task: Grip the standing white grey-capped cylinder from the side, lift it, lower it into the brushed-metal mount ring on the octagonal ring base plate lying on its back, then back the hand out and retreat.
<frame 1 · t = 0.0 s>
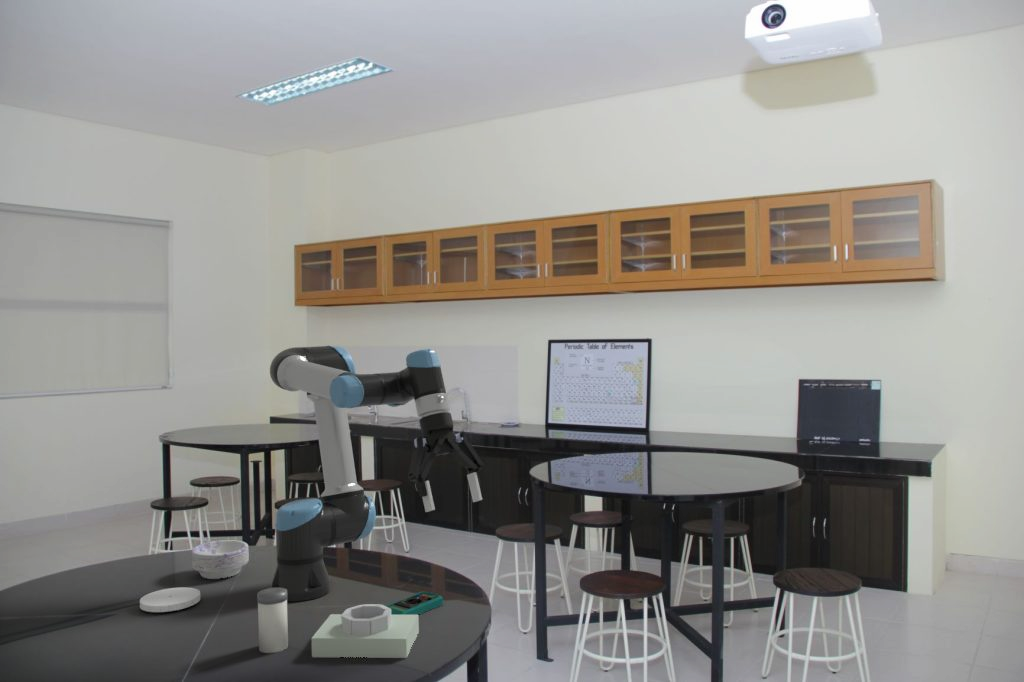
hand: (454, 506, 182), 28 cm above the table, tool tilted 20°, fingers open, 13 cm apart
white grey-capped cylinder: (273, 647, 174), on the table
octagonal ring base plate: (367, 644, 175), on the table
digital multimeter: (412, 613, 195), on the table
plastic lid: (170, 607, 202), on the table
paper bowls: (220, 575, 227), on the table
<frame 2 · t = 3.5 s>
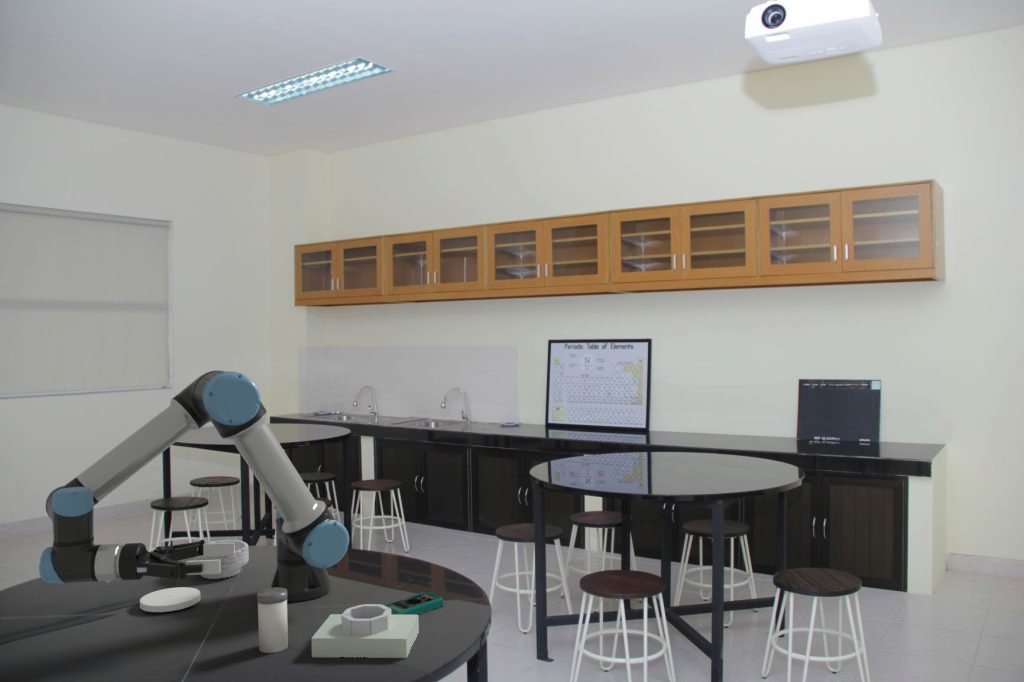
hand: (227, 557, 172), 20 cm above the table, tool horizontal, fingers open, 13 cm apart
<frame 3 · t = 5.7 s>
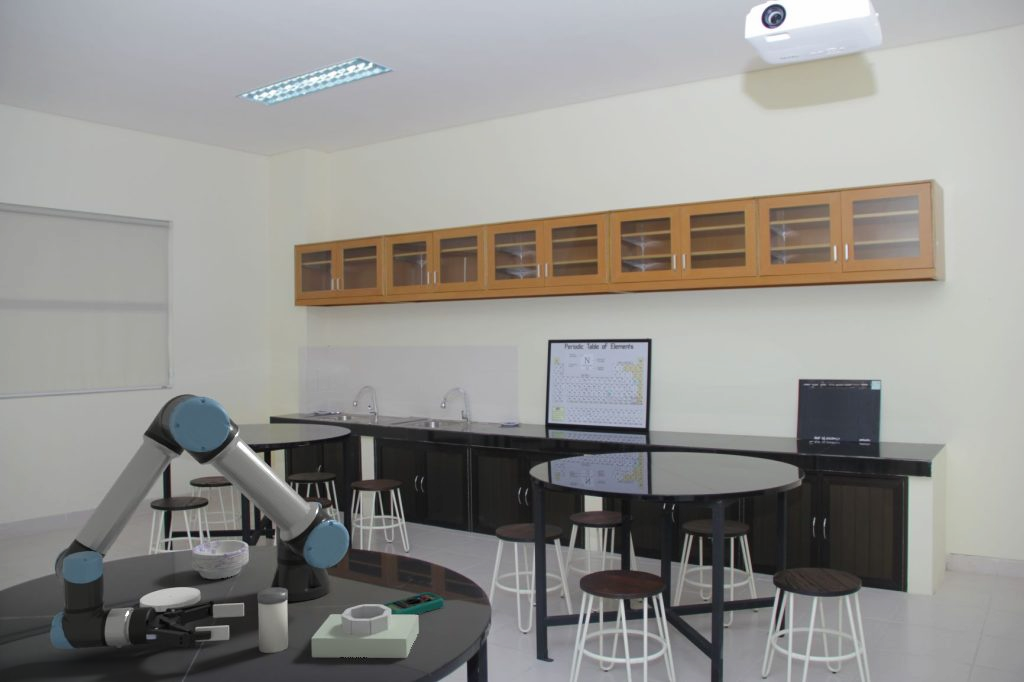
hand: (236, 620, 173), 6 cm above the table, tool horizontal, fingers open, 13 cm apart
nothing on the table moved.
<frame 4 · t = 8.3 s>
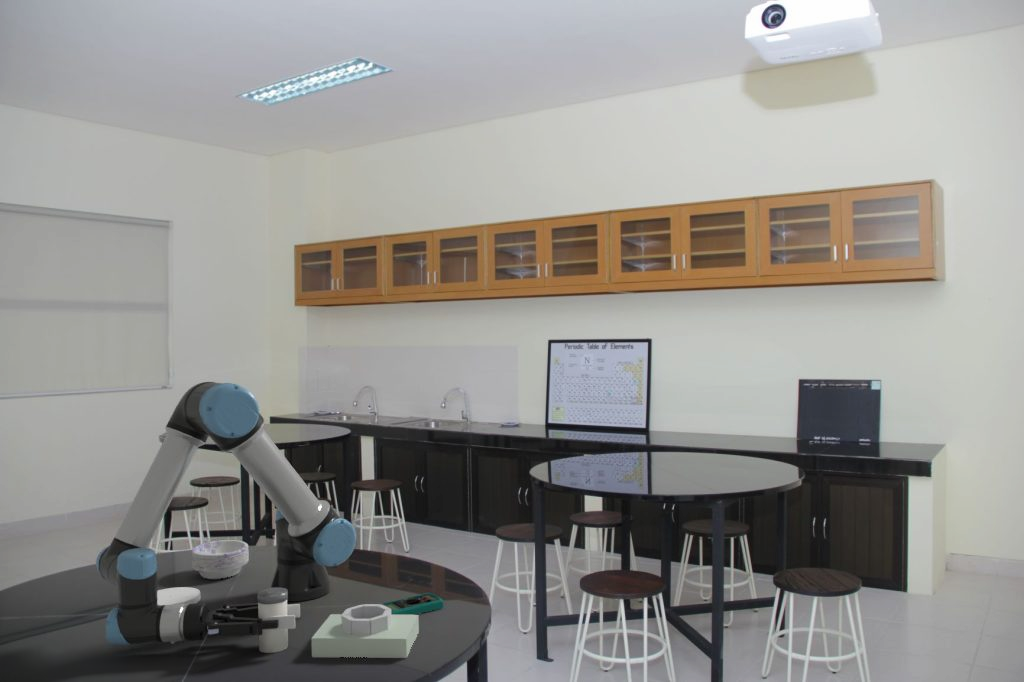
hand: (297, 616, 174), 7 cm above the table, tool horizontal, fingers closed on white grey-capped cylinder, 6 cm apart
white grey-capped cylinder: (273, 647, 174), on the table, touching gripper
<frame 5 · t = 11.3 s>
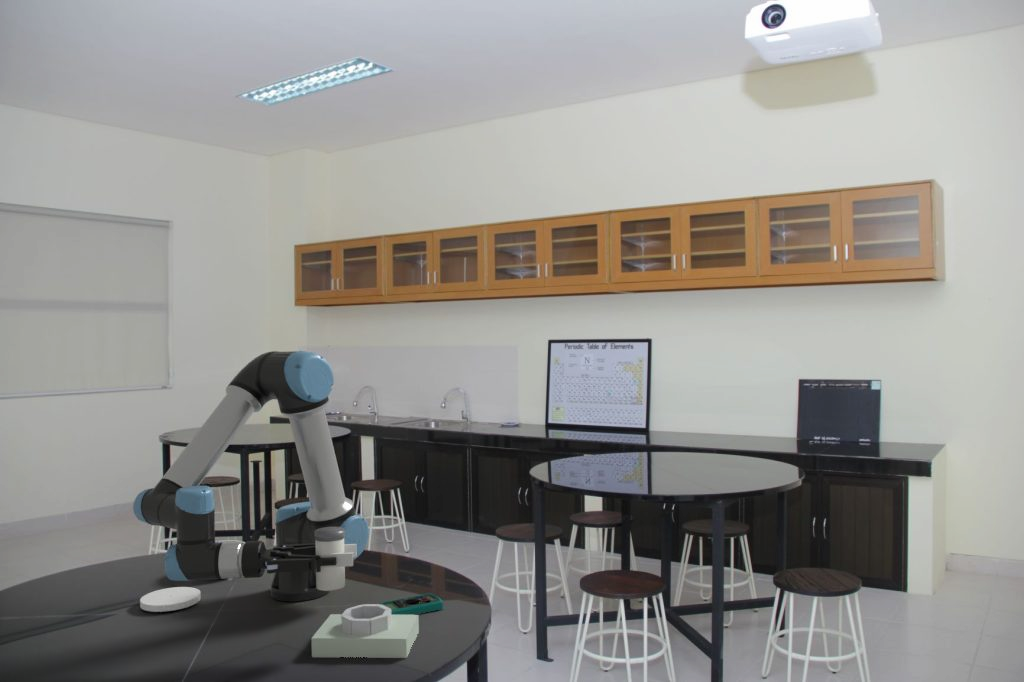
hand: (354, 554, 173), 20 cm above the table, tool horizontal, fingers closed on white grey-capped cylinder, 6 cm apart
white grey-capped cylinder: (330, 586, 172), point 13 cm above the table, touching gripper
when the fingers open (12 cm above the table, at t = 14.2 s): white grey-capped cylinder drops 1 cm, resting on octagonal ring base plate.
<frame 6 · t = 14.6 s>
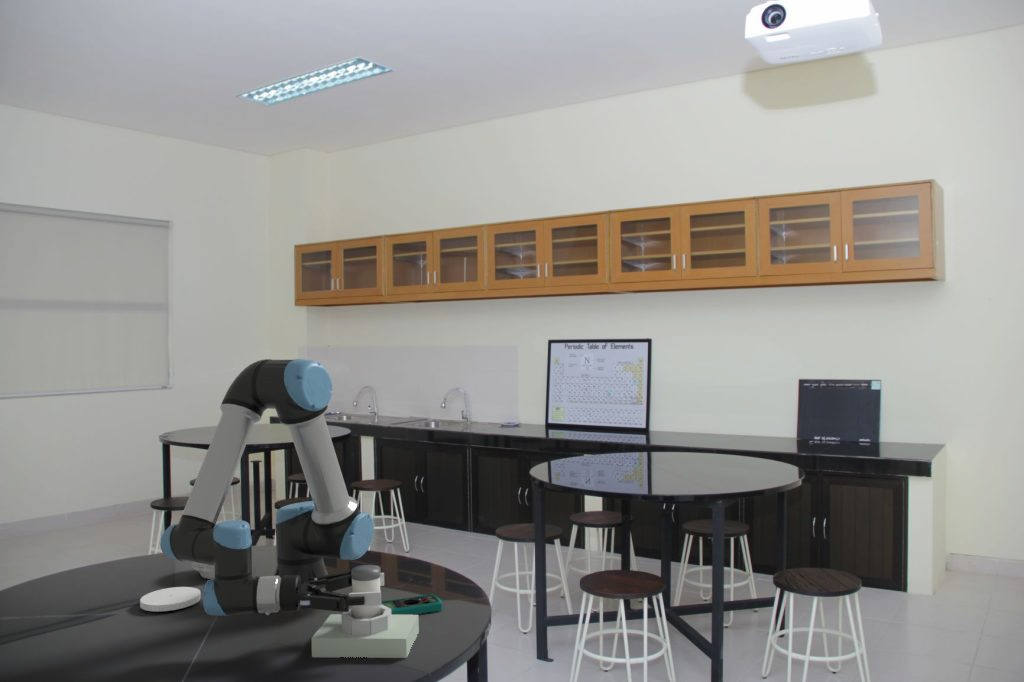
hand: (382, 588, 175), 12 cm above the table, tool horizontal, fingers open, 12 cm apart
white grey-capped cylinder: (366, 624, 174), point 4 cm above the table, touching octagonal ring base plate
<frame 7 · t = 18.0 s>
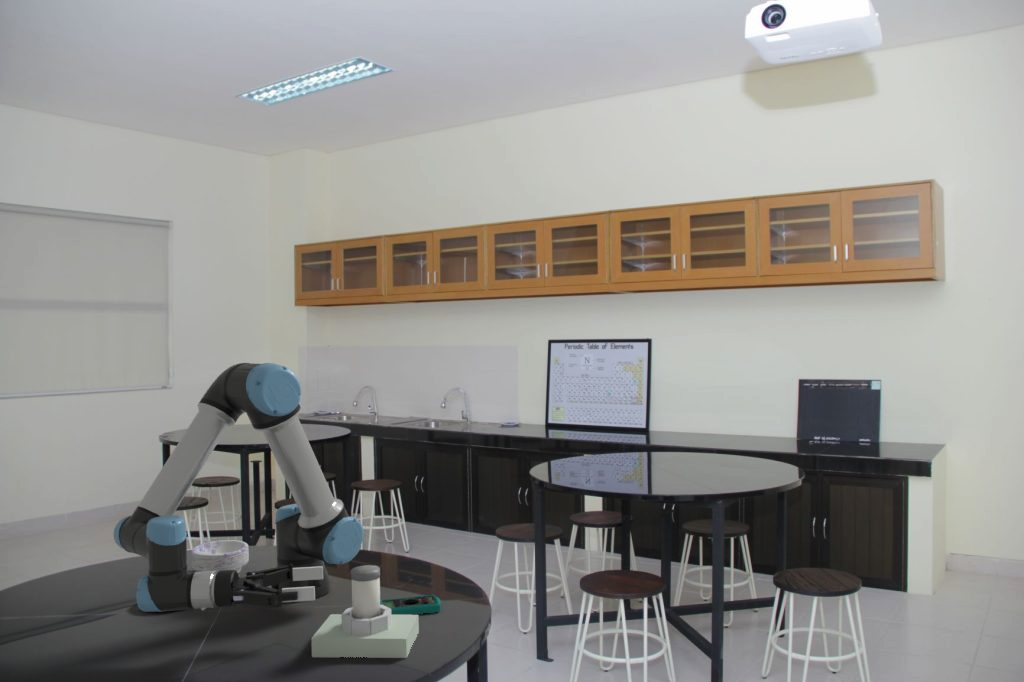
hand: (319, 582, 173), 14 cm above the table, tool horizontal, fingers open, 13 cm apart
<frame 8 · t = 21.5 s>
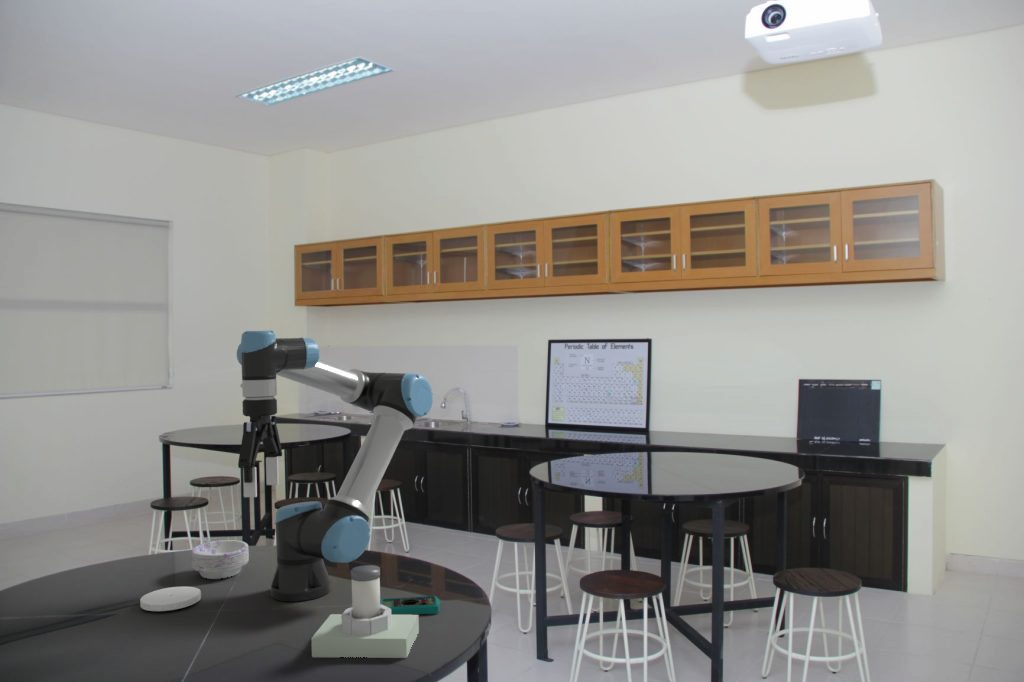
hand: (261, 490, 185), 32 cm above the table, tool pointing down, fingers open, 13 cm apart
at the end: white grey-capped cylinder 0.1 cm off-centre on the octagonal ring base plate, point 4.3 cm above the octagonal ring base plate's base; white grey-capped cylinder tilted 0°; the gripper is holding nothing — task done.
